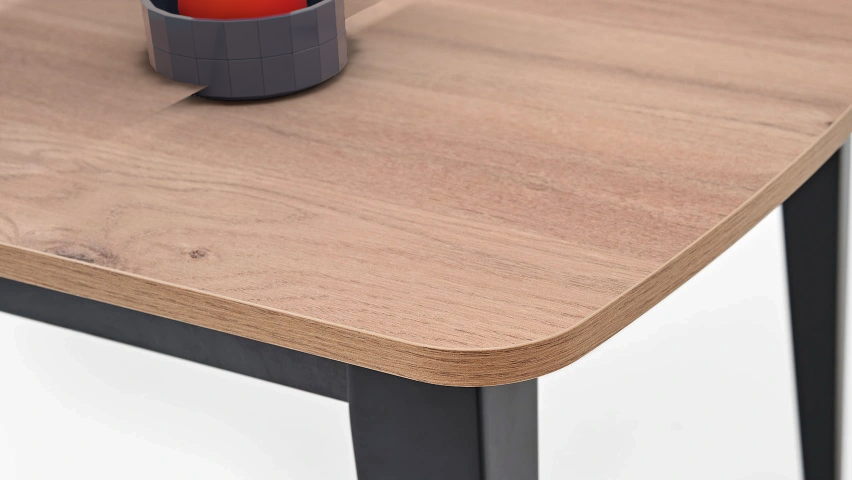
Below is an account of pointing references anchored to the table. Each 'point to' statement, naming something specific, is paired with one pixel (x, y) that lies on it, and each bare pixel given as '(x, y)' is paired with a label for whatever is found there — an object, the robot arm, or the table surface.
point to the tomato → (237, 8)
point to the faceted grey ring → (247, 49)
